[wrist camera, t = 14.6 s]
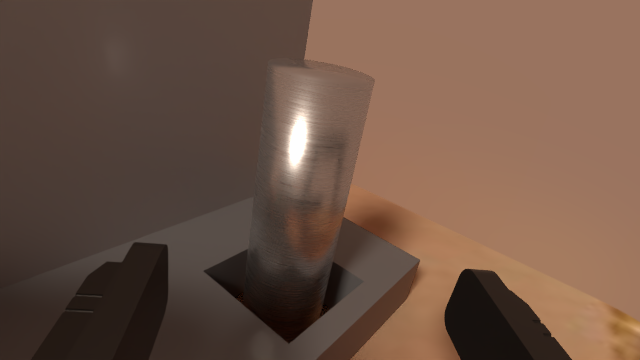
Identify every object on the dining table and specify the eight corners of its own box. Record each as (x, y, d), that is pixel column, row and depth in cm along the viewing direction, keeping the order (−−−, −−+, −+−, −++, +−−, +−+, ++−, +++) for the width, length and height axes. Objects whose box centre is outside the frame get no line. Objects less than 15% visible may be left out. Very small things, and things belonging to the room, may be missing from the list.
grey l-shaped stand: (406, 299, 23) (507, 17, 16) (83, 642, 9) (-151, -202, 3) (269, 212, 29) (299, -18, 22) (-45, 346, 16) (-215, -137, 9)
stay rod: (331, 324, 20) (393, 81, 14) (279, 371, 17) (331, 87, 11) (279, 284, 22) (315, 58, 16) (224, 320, 19) (244, 58, 14)
